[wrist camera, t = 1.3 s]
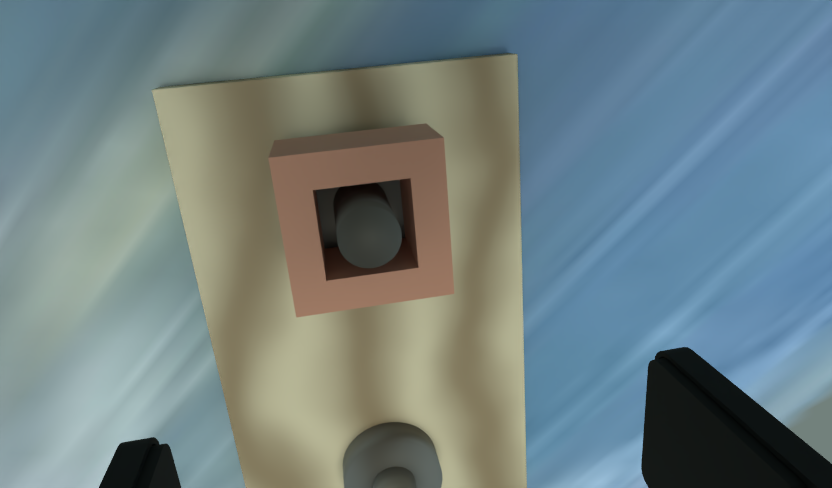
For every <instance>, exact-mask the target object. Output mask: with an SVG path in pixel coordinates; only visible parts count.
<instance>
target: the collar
mask: <svg viewBox="0 0 832 488" xmlns="http://www.w3.org/2000/svg"><path fill="white" fill-rule="evenodd" d="M268 159H269V165H270V171H271V176H272V182H273V188H274V193H275V199H276V205H277V211H278V216H279V222H280V228H281V233H282V239H283V245H284V251H285V256H286V262H287V268H288V273H289V279H290V285H291V291H292V296H293V302H294V308H295V313H296V317H303V316H310V315H317V314H323V313H330V312H337V311H343V310H350V309H357V308H364V307H370V306H377V305H384V304H390V303H397V302H404V301H410V300H417V299H424V298H431V297H437V296H444V295H451V294H454V280H453V265H452V250H451V235H450V220H449V205H448V190H447V175H446V160H445V145H444V137H443V136H441V135H440V134H439V133H438V132H436V131H435V130H434V129H433V128H431V127H430V126H429V125H428V124H426V123H425V124H416V125H407V126H398V127H389V128H380V129H371V130H362V131H353V132H344V133H335V134H326V135H317V136H308V137H299V138H290V139H281V140H274V143H273V146H272V149H271V152H270V154H269V157H268ZM392 180H400V189H401V199H402V210H403V220H404V230H405V238H402V241H401V246H400V248H399V250H398V252H397V254H396V255H395V257H394V258H393V259H392V260H390V261H389V262H388V263H386V264H384V265H382V266H380V267H376V268H361V267H358V266H355V265H353V264H351V263H350V262H349V261H347V260H346V259H345V258H344V257H343V255H342V254H341V252H340V250H339V247H333V248H326V249H325V248H324V241H323V235H322V228H321V221H320V214H319V208H318V201H317V194H316V190H319V189H327V188H335V187H343V186H351V185H359V184H368V183H376V182H384V181H392Z"/></svg>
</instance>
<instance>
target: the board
mask: <svg viewBox="0 0 832 488" xmlns="http://www.w3.org/2000/svg"><path fill="white" fill-rule="evenodd" d="M152 92H153V97H154V101H155V105H156V109H157V114H158V118H159V122H160V126H161V131H162V135H163V139H164V143H165V147H166V152H167V156H168V160H169V164H170V169H171V173H172V177H173V181H174V186H175V190H176V194H177V198H178V202H179V207H180V211H181V215H182V219H183V224H184V228H185V232H186V236H187V240H188V245H189V249H190V253H191V257H192V262H193V266H194V270H195V274H196V279H197V283H198V287H199V291H200V295H201V300H202V304H203V308H204V312H205V317H206V321H207V325H208V329H209V334H210V338H211V342H212V346H213V350H214V355H215V359H216V363H217V367H218V372H219V376H220V380H221V384H222V388H223V393H224V397H225V401H226V405H227V410H228V414H229V418H230V422H231V427H232V431H233V435H234V439H235V443H236V448H237V452H238V456H239V460H240V465H241V469H242V473H243V477H244V481H245V486H246V488H527V481H526V435H525V388H524V341H523V294H522V247H521V201H520V154H519V107H518V60H517V54H512V53H505V54H495V55H484V56H474V57H464V58H454V59H443V60H433V61H423V62H413V63H403V64H392V65H382V66H372V67H362V68H351V69H341V70H331V71H321V72H311V73H300V74H290V75H280V76H270V77H259V78H249V79H239V80H229V81H219V82H208V83H198V84H188V85H178V86H168V87H159V88H156V89H153V90H152ZM425 123H426V124H428V125H429V126H430V127H431V128H433V129H434V130H435V131H436V132H438V133H439V134H440V135H441V136H443V137H444V145H445V160H446V175H447V190H448V205H449V220H450V235H451V250H452V265H453V280H454V294H451V295H444V296H437V297H431V298H424V299H417V300H410V301H404V302H397V303H390V304H384V305H377V306H370V307H364V308H357V309H350V310H343V311H337V312H330V313H323V314H317V315H310V316H303V317H296V313H295V308H294V302H293V296H292V291H291V285H290V279H289V273H288V268H287V262H286V256H285V251H284V245H283V239H282V233H281V228H280V222H279V216H278V211H277V205H276V199H275V193H274V188H273V182H272V176H271V171H270V165H269V159H268V157H269V154H270V152H271V149H272V146H273V143H274V140H281V139H290V138H299V137H308V136H317V135H326V134H335V133H344V132H353V131H362V130H371V129H380V128H389V127H398V126H407V125H416V124H425ZM316 194H317V201H318V208H319V214H320V221H321V228H322V235H323V241H324V248H325V249H326V248H333V247H339V250H340V252H341V254H342V255H343V257H344V258H345V259H346V260H347V261H349V262H350V263H351V264H353V265H355V266H358V267H361V268H376V267H380V266H382V265H384V264H386V263H388V262H389V261H390V260H392V259H393V258H394V257H395V255H396V254H397V252H398V250H399V248H400V246H401V241H402V238H405V230H404V220H403V210H402V199H401V189H400V180H392V181H384V182H376V183H368V184H359V185H351V186H343V187H335V188H327V189H319V190H316Z"/></svg>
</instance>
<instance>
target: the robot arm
mask: <svg viewBox="0 0 832 488" xmlns="http://www.w3.org/2000/svg"><path fill="white" fill-rule="evenodd" d="M642 474H643V477H644V480H645V482H646V484H647V485H648V487H649V488H832V464H831V463H830V462H829V461H827V460H826V459H825V458H824V457H823V456H821V455H820V454H819V453H818V452H816V451H815V450H814V449H813V448H811V447H810V446H809V445H808V444H807V443H805V442H804V441H803V440H802V439H800V438H799V437H798V436H797V435H795V434H794V433H793V432H792V431H791V430H789V429H788V428H787V427H786V426H785V425H783V424H782V423H781V422H780V421H778V420H777V419H776V418H775V417H774V416H772V415H771V414H770V413H769V412H767V411H766V410H765V409H764V408H763V407H761V406H760V405H759V404H758V403H756V402H755V401H754V400H753V399H752V398H750V397H749V396H748V395H747V394H745V393H744V392H743V391H742V390H740V389H739V388H738V387H737V386H736V385H734V384H733V383H732V382H731V381H729V380H728V379H727V378H726V377H725V376H723V375H722V374H721V373H720V372H718V371H717V370H716V369H715V368H714V367H712V366H711V365H710V364H709V363H707V362H706V361H705V360H704V359H703V358H701V357H700V356H699V355H698V354H696V353H695V352H694V351H693V350H691V349H690V348H688V347H682V348H677V349H671V350H665V351H660V352H658V353H657V354H656V356H655V360H652V361H650V363H649V366H648V377H647V392H646V406H645V421H644V436H643V451H642ZM99 488H181V485H180V482H179V478H178V474H177V471H176V467H175V464H174V460H173V456H172V453H171V449H170V447H169V445H168V444H161V445H159V442H158V440H157V439H156V438H154V437H153V438H147V439H141V440H135V441H129V442H123V443H121V444H120V445H119V446H118V448H117V450H116V452H115V454H114V456H113V458H112V460H111V463H110V465H109V467H108V469H107V471H106V473H105V475H104V478H103V480H102V482H101V484H100V486H99Z"/></svg>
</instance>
